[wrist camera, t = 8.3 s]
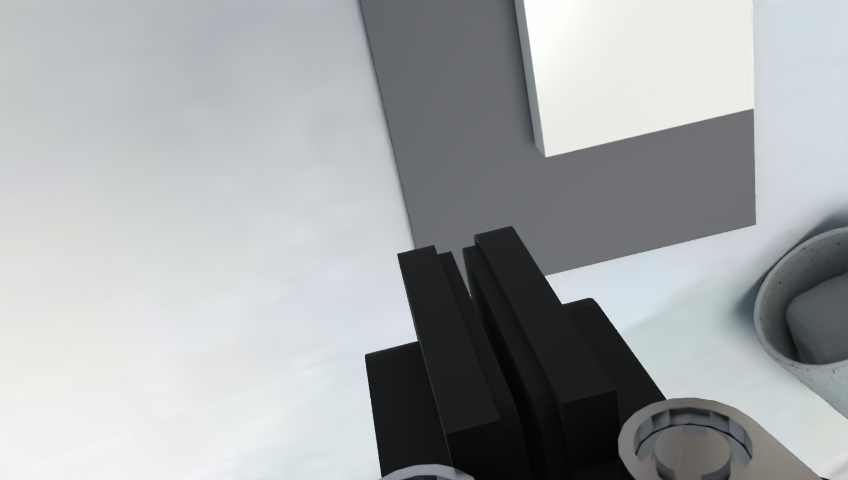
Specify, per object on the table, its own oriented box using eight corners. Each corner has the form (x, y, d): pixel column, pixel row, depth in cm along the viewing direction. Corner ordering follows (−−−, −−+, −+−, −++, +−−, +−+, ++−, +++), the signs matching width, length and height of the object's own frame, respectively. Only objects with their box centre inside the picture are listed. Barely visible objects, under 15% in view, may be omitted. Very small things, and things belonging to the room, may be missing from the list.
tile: (513, -75, 28) (750, -127, 28) (501, -75, 30) (723, -125, 30) (545, 157, 31) (754, 107, 32) (533, 144, 33) (730, 97, 34)
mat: (347, -56, 30) (347, -55, 29) (740, -144, 30) (748, -145, 30) (427, 297, 36) (429, 303, 36) (749, 220, 37) (755, 224, 36)
